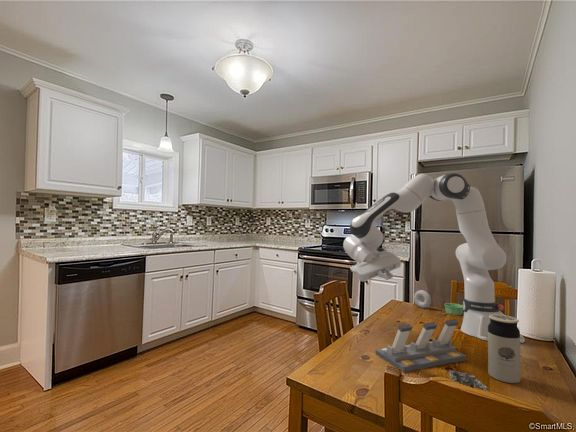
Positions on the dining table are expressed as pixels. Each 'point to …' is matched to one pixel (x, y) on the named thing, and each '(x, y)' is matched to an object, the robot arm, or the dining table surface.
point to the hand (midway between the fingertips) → (389, 277)
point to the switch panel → (421, 355)
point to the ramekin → (453, 308)
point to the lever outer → (401, 337)
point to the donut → (426, 297)
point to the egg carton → (466, 379)
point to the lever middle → (425, 334)
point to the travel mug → (504, 348)
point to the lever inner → (447, 331)
